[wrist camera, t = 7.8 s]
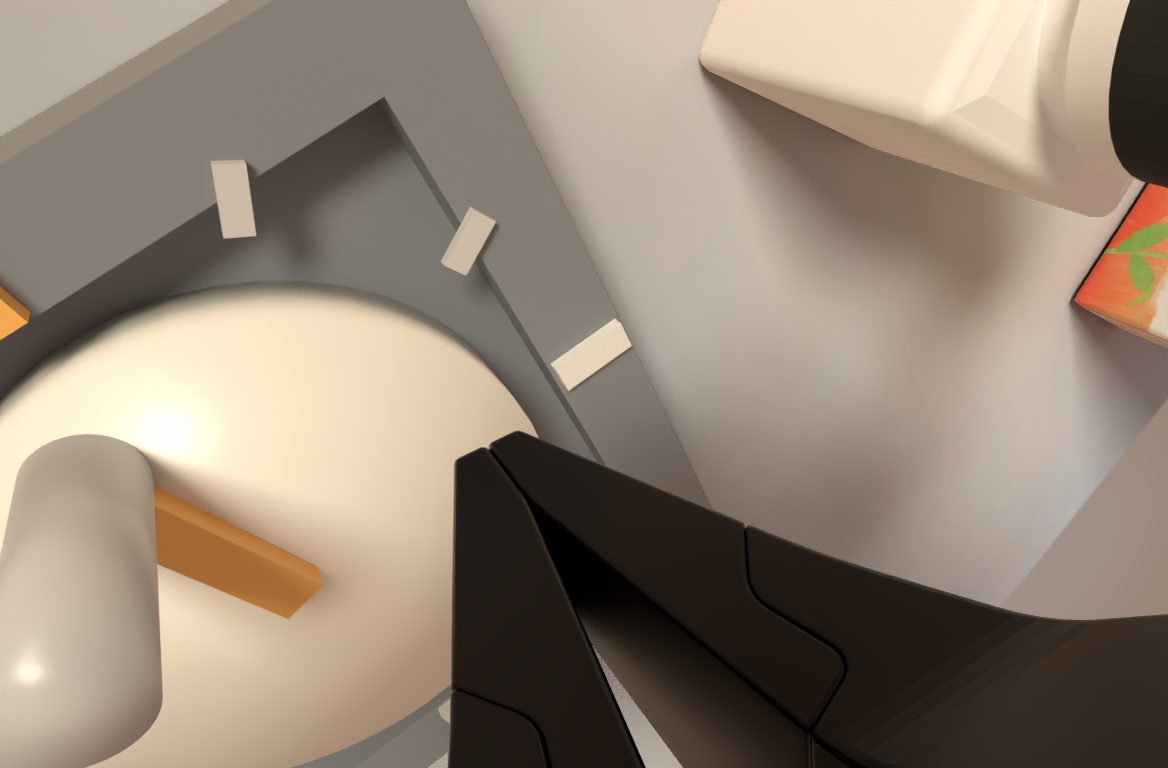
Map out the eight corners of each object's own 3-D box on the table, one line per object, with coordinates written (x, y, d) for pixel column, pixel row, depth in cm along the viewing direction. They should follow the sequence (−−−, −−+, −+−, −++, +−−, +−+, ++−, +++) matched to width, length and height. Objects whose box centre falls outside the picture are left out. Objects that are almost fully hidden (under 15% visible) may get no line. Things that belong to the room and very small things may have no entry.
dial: (604, 464, 21) (756, 641, 16) (301, 765, 21) (355, 1035, 16) (247, 148, 13) (321, 294, 8) (-225, 625, 14) (-442, 1060, 8)
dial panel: (208, 843, 23) (216, 945, 21) (-617, 505, 12) (-800, 650, 9) (679, 489, 25) (733, 546, 23) (379, -89, 14) (429, -89, 12)
